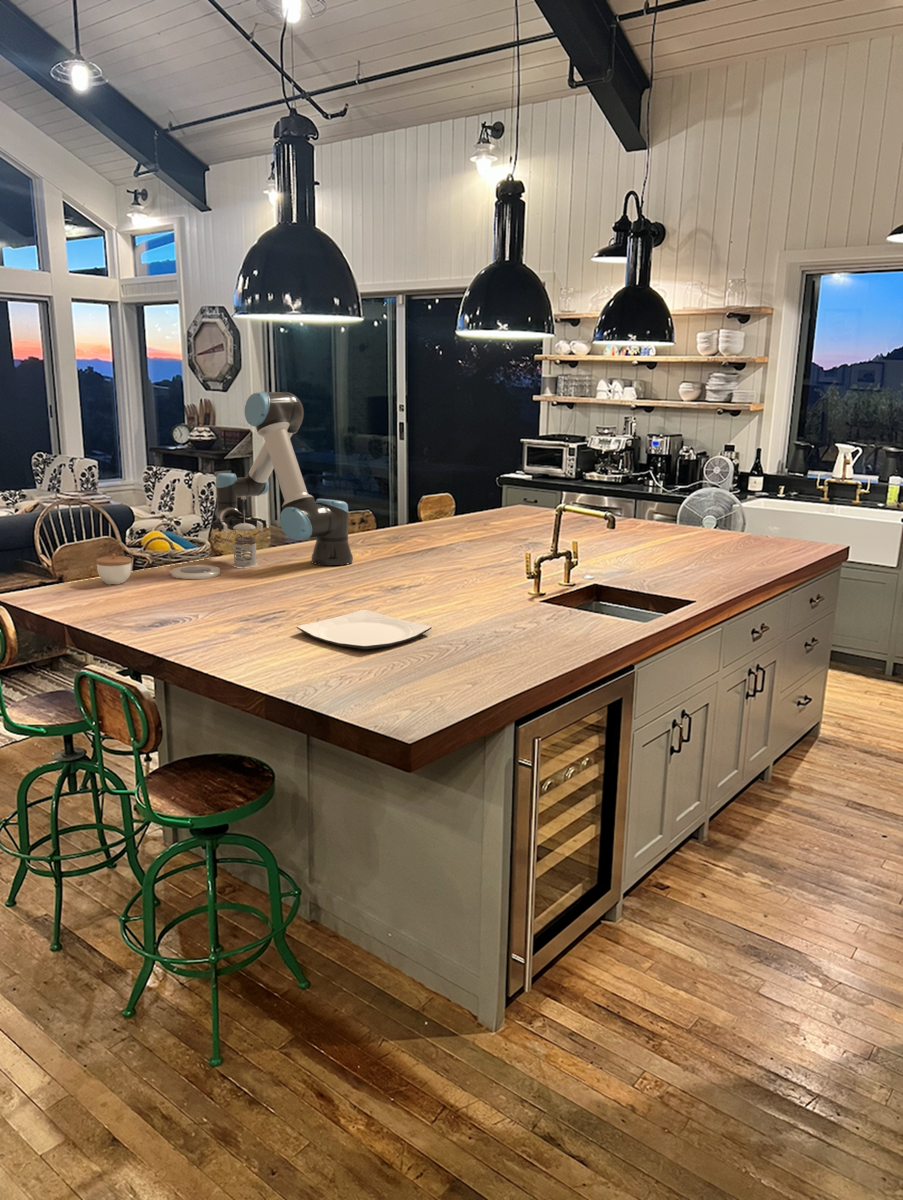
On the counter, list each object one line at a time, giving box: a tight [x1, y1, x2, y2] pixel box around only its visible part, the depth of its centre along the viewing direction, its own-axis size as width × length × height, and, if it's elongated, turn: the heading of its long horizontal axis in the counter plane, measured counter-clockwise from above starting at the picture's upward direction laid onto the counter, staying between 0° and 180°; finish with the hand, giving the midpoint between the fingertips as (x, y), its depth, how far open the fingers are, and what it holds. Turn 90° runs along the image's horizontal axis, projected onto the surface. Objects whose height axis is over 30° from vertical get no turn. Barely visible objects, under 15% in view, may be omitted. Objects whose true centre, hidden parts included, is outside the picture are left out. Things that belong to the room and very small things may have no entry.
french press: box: [225, 496, 259, 567], centre depth 325 cm, size 10×12×25 cm
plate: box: [296, 609, 432, 650], centre depth 247 cm, size 29×29×3 cm
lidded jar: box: [95, 553, 133, 585], centre depth 296 cm, size 11×11×9 cm
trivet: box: [170, 564, 221, 580], centre depth 311 cm, size 16×16×2 cm
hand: (244, 528), depth 322 cm, fingers open, 12 cm apart
